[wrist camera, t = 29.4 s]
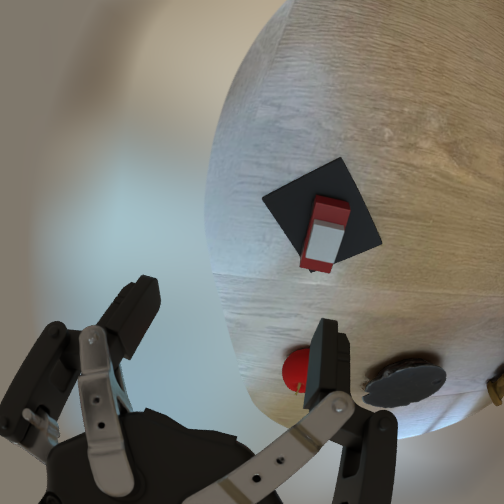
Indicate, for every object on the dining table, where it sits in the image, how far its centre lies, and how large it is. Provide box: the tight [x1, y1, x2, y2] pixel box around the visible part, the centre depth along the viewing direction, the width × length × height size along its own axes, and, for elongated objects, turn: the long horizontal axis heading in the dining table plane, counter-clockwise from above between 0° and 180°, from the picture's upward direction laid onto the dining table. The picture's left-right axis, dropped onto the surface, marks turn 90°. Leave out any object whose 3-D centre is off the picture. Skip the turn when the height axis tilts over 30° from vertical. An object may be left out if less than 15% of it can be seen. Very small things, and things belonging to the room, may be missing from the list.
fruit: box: [282, 348, 310, 395], centre depth 51 cm, size 9×9×10 cm
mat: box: [262, 157, 382, 273], centre depth 37 cm, size 14×12×1 cm
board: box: [362, 358, 446, 408], centre depth 52 cm, size 22×22×5 cm
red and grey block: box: [299, 195, 351, 273], centre depth 35 cm, size 5×5×10 cm
